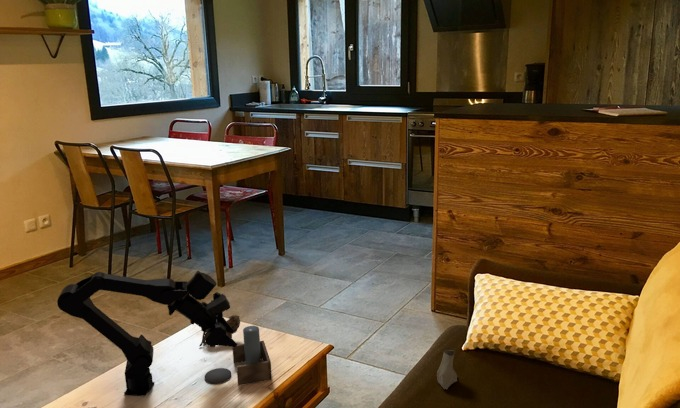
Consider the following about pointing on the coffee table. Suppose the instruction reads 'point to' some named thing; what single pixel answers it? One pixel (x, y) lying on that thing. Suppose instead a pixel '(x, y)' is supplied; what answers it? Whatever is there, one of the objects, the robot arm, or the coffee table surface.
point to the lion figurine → (233, 322)
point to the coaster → (217, 375)
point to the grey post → (252, 344)
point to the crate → (252, 366)
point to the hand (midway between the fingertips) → (234, 338)
